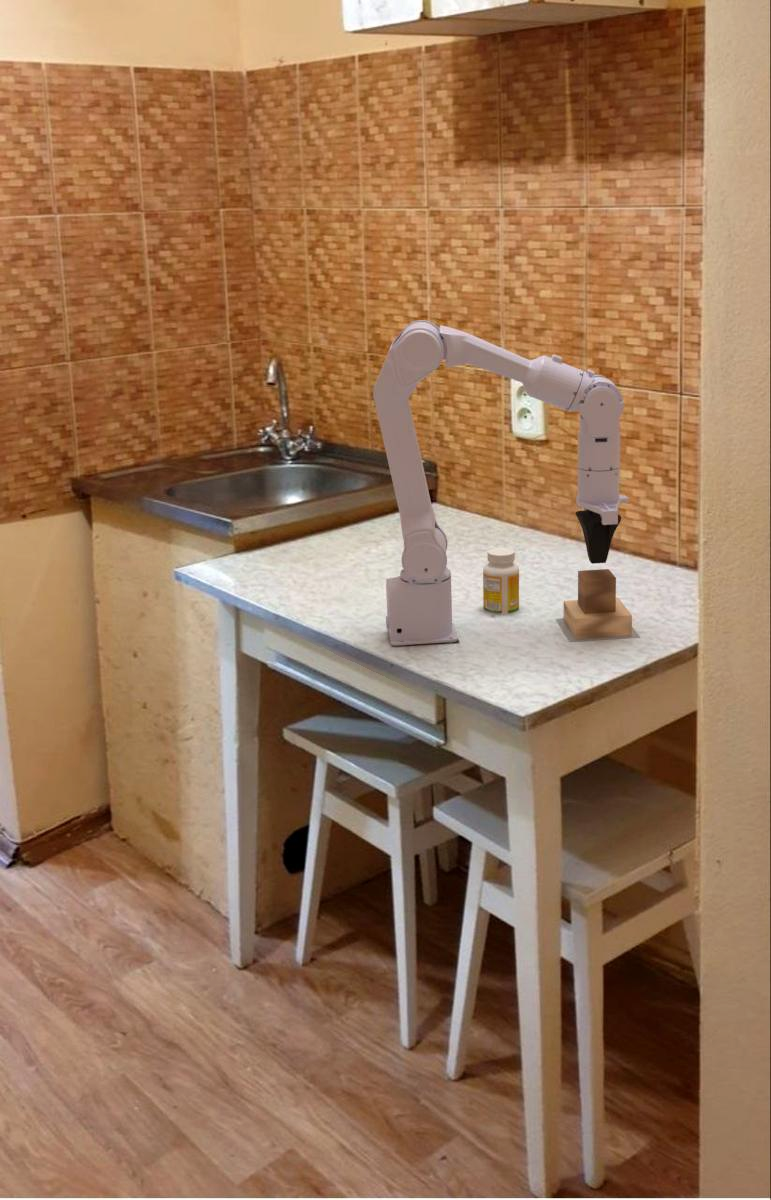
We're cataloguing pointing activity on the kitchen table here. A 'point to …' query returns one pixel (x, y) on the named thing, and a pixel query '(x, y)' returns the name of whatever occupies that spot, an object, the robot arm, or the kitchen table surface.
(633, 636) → the baseplate
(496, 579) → the supplement bottle
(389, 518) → the kitchen table surface
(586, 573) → the walnut block
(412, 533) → the robot arm
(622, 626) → the oak brick
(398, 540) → the kitchen table surface
